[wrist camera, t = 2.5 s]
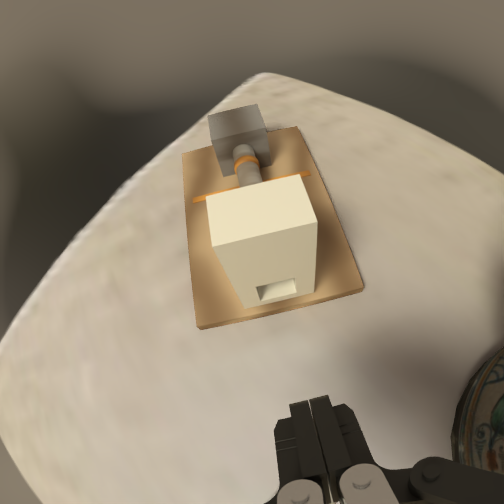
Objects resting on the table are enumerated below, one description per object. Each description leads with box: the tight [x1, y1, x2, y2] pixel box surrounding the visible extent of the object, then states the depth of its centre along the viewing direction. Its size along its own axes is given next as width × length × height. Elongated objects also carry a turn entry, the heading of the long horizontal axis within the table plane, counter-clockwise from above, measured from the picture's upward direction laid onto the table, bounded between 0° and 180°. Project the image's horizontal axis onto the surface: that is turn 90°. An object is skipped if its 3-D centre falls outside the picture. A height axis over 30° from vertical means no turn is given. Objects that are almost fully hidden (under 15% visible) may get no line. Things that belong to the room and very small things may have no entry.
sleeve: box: [206, 174, 318, 309], centre depth 24 cm, size 6×4×11 cm, turn 101°
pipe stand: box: [182, 104, 364, 330], centre depth 33 cm, size 16×24×7 cm, turn 11°
